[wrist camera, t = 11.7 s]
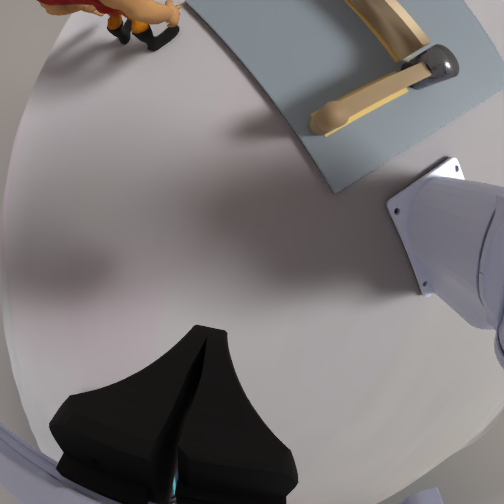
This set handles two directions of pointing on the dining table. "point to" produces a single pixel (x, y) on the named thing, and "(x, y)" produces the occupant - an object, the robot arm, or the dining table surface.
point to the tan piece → (393, 25)
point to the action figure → (134, 9)
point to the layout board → (354, 72)
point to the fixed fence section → (364, 99)
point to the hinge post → (434, 65)
